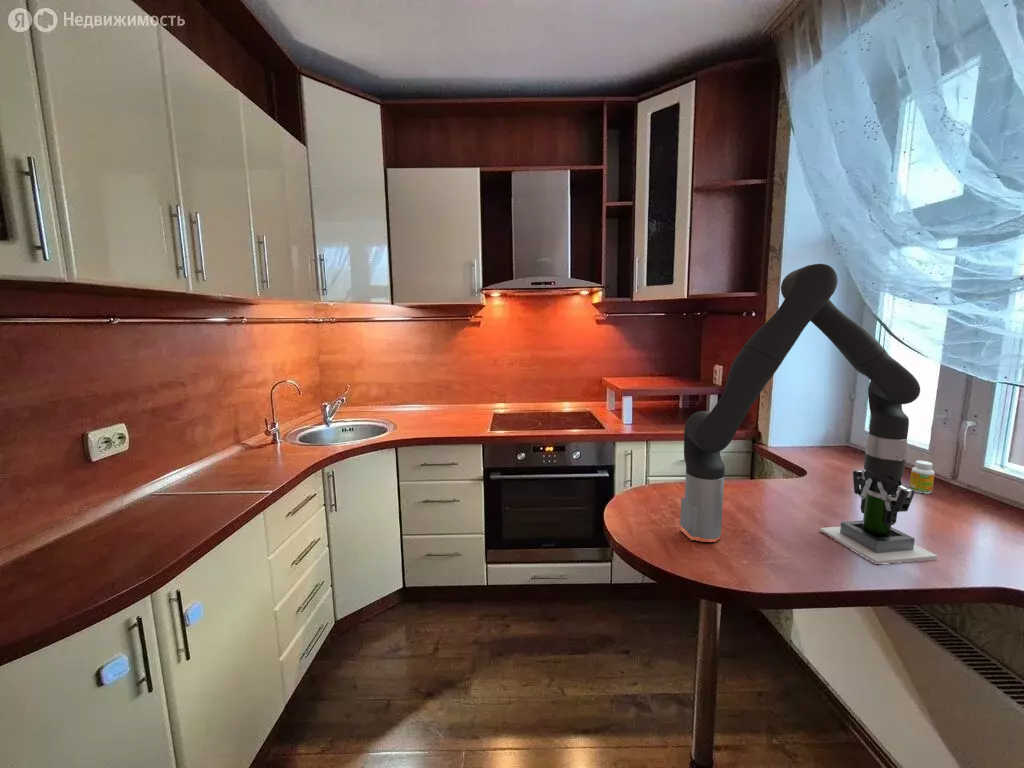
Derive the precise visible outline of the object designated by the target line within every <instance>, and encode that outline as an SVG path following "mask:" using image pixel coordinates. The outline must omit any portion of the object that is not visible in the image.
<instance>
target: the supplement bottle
mask: <svg viewBox="0 0 1024 768" xmlns="http://www.w3.org/2000/svg"><path fill="white" fill-rule="evenodd" d="M933 466H934V465H933V463H932V462H930V461H926V460H916V461H915V466H913V467H912V468H911V472H910V473H911V474H910V479H909V487H908V489H913V490H914V492H915V493H916V494H917V493H918V494H922V493H924V494H923V495H929V494H930V493H933V488H934V480H935V471H934V469H933Z"/></svg>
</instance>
